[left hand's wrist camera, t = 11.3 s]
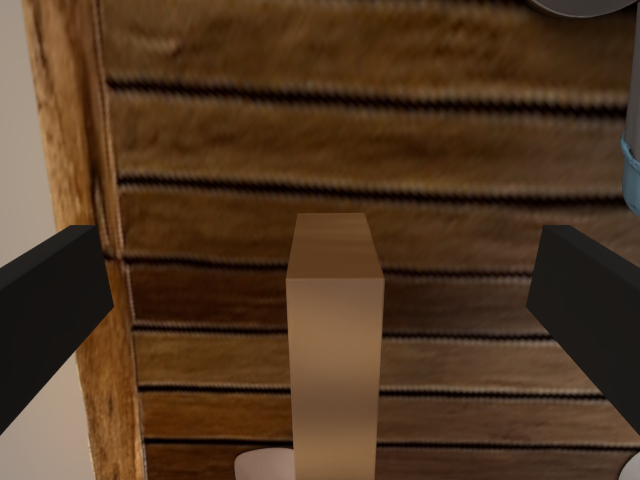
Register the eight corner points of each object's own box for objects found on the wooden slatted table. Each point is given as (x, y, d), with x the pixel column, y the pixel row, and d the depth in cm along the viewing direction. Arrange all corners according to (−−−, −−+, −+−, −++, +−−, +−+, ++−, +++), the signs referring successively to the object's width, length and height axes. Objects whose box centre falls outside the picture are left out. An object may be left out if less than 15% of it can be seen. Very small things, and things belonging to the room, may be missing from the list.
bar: (297, 213, 27) (285, 279, 18) (365, 212, 27) (385, 278, 18) (306, 489, 37) (301, 618, 28) (356, 488, 37) (367, 619, 28)
